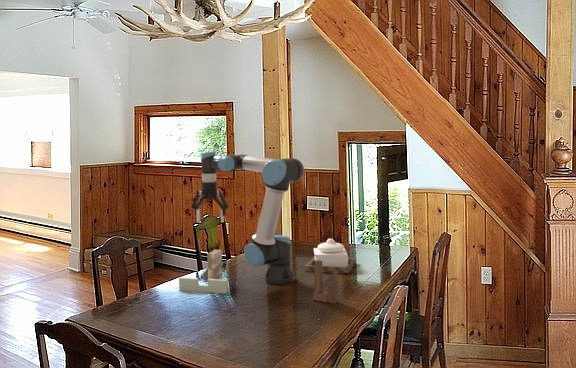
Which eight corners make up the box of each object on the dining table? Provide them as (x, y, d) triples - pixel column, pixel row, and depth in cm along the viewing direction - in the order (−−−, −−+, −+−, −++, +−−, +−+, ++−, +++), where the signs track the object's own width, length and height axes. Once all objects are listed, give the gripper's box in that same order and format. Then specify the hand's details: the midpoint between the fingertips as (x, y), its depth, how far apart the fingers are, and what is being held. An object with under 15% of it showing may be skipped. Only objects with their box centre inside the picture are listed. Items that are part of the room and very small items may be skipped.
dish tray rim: (355, 263, 332) (355, 258, 332) (348, 273, 309) (348, 268, 309) (314, 261, 338) (314, 256, 338) (304, 271, 315) (304, 265, 315)
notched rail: (227, 292, 277) (227, 279, 276) (226, 293, 275) (225, 280, 275) (181, 289, 283) (180, 277, 283) (179, 290, 281) (179, 278, 281)
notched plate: (222, 280, 298) (221, 249, 296) (214, 286, 288) (214, 254, 287) (215, 280, 299) (215, 249, 297) (208, 285, 289) (207, 253, 288)
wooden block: (334, 304, 256) (334, 263, 255) (312, 300, 262) (312, 261, 260) (338, 301, 260) (338, 262, 258) (316, 298, 265) (316, 259, 263)
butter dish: (348, 270, 315) (348, 241, 313) (314, 271, 315) (314, 241, 313) (345, 263, 332) (345, 235, 331) (313, 263, 332) (313, 235, 331)
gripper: (234, 180, 306) (235, 221, 308) (190, 180, 312) (191, 220, 314) (229, 182, 298) (230, 223, 300) (184, 182, 305) (185, 222, 307)
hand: (210, 221), depth 307 cm, fingers open, 13 cm apart
